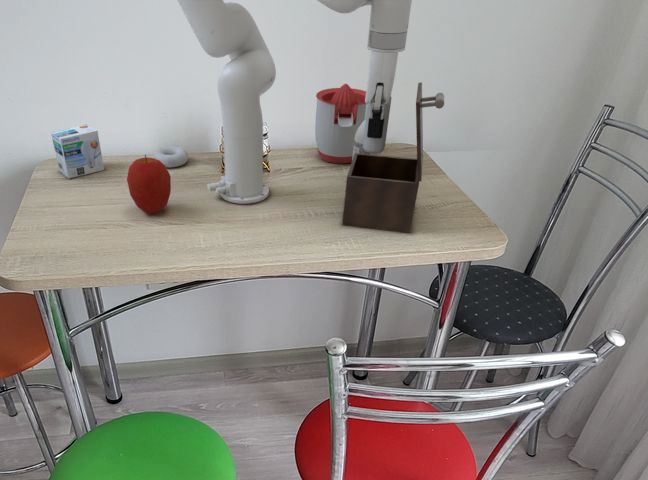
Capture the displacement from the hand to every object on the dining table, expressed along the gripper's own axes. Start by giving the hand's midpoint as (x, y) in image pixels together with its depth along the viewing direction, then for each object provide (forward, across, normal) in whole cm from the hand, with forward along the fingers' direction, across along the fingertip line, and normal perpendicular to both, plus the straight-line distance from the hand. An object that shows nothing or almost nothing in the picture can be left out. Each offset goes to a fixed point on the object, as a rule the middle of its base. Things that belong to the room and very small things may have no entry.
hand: (375, 132), depth 124 cm
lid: (-1, -1, +9) cm, 9 cm away
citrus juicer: (+20, -34, -11) cm, 41 cm away
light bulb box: (+19, -7, -79) cm, 81 cm away
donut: (+19, -19, -57) cm, 63 cm away
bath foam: (+20, -18, -3) cm, 27 cm away
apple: (+20, +11, -50) cm, 55 cm away
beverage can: (+4, 0, 0) cm, 4 cm away
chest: (+20, 0, +3) cm, 20 cm away
